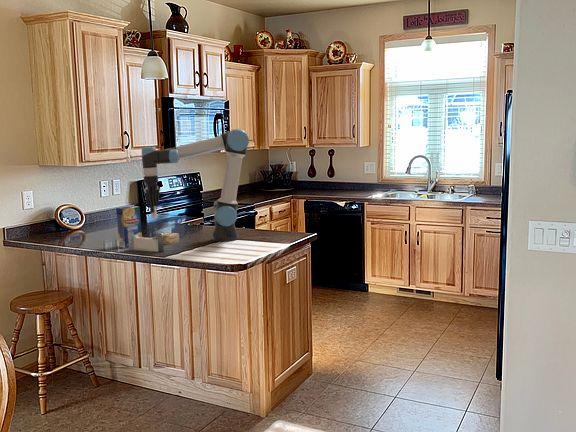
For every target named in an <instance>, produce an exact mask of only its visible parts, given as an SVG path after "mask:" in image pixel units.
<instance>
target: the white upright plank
mask: <svg viewBox="0 0 576 432" xmlns="http://www.w3.org/2000/svg"><path fill="white" fill-rule="evenodd" d="M133 237H134V249H142V250H158V240H157V236H152V237H143V236H142V237H138V235H135V236H133Z"/></svg>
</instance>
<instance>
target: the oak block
mask: <svg viewBox="0 0 576 432" xmlns="http://www.w3.org/2000/svg"><path fill="white" fill-rule="evenodd" d="M178 242H179V243H180V233H179V232H177V233H176V232H166V233H163V244H165V245H172V244H176V243H178Z"/></svg>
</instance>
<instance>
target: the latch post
mask: <svg viewBox="0 0 576 432" xmlns="http://www.w3.org/2000/svg"><path fill="white" fill-rule="evenodd" d="M133 236H134V232H128V240H129V247H128V249H129V252H130V251H131V252H132V251H135V250H134V237H133Z"/></svg>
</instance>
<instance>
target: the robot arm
mask: <svg viewBox="0 0 576 432" xmlns="http://www.w3.org/2000/svg"><path fill="white" fill-rule="evenodd" d="M249 144H250V137H249V135H248V133H247V132H246V131H245V130H244V129H240V128H234V129H231V130H229V131H227V132H224V133H220V134H219V135H218V136H215V137H212V138H207V139H203V140H199V141H195V142H191V143H187V144H183V145H178V146H174V147H170V148H165V149H156V146H145V147H144V146H143V147H142V148H141V161H142V170H143V171H142V172H143V182H144V184H145V188H144V189H142V192H143V193H144V197H145V201H146V206H147V207H149V210H150V216H151V219H158V213H157V211H158V208H157V207H158V206H159V204H160V193H161V192H160V191H161V186H158V182H159V177H158V165H161V164H162V165H163V164H164V165H165V164H167V165H168V164H177V163H179V162H180V160H183V159H188V158H192V157H197V156H201V155H205V154H209V153H213V152H217V151H224V152H225V153H226V163H225V169H224V174H223V175H224V176H223V181H222V187H221V193H220V198H218V199H217V200H215V201H213V210H214V211H213V212H214V213H213V214H214V229H213V233H212V240H213V241H214V242H232V240H233V241H236V240H238V239H239V234H238V231H237V229H236V226H235V225H236V221H237V218H238V212H237V211H238V205H239V203H238V201H237V195H238V188H239V183H240V177H241V176H240V175H241V170H242V164H243V158H244V157H245V156H247V150H248V146H249Z"/></svg>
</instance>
